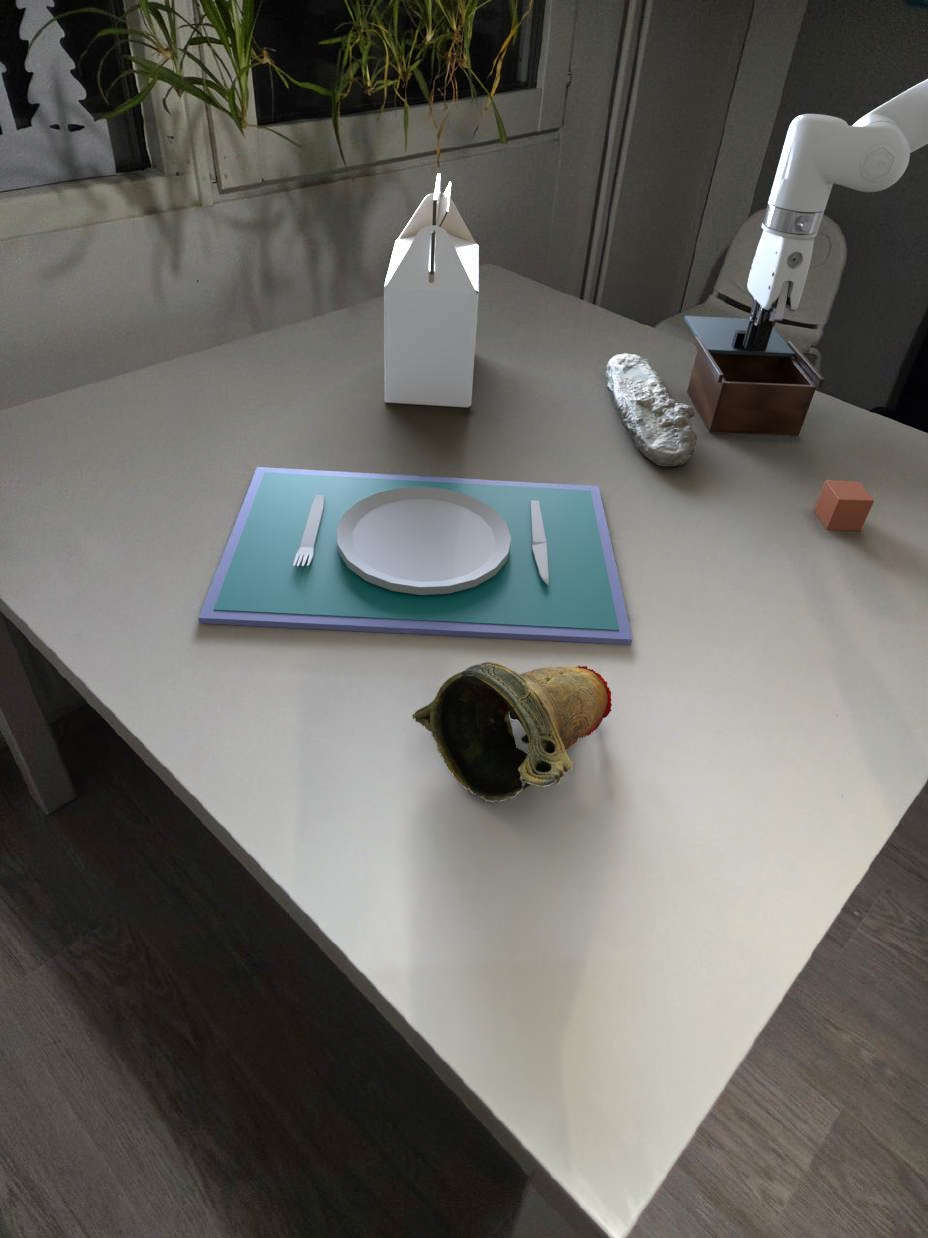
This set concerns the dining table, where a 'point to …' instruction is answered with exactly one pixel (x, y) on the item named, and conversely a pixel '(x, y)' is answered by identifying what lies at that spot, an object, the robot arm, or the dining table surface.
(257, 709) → the dining table surface
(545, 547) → the place mat
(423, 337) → the gable box
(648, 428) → the elongated rock
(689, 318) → the knobbed box lid
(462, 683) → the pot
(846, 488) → the block
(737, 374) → the brown storage box
